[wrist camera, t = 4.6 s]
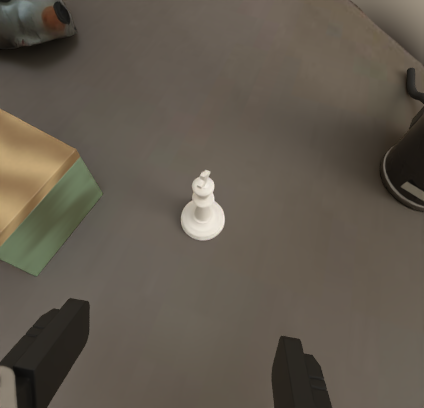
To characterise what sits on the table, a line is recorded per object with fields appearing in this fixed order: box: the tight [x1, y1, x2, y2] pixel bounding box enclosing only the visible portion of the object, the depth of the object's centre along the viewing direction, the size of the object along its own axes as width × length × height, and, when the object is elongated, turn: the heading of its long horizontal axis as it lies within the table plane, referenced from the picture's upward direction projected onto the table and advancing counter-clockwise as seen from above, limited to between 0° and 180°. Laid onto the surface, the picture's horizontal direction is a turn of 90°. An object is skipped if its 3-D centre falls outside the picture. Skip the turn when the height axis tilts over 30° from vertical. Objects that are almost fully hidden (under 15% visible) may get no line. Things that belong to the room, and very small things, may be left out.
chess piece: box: [181, 170, 225, 240], centre depth 32 cm, size 5×5×10 cm
